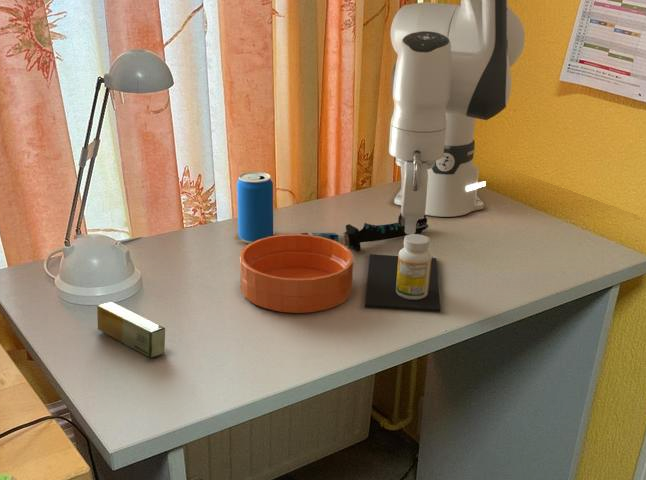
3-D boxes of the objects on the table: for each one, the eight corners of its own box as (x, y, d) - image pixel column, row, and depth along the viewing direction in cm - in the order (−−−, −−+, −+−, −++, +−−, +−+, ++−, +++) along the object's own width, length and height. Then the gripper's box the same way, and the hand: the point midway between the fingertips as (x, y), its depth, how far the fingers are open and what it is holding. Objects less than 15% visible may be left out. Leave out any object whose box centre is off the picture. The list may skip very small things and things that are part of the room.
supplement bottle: (415, 303, 127) (421, 248, 122) (388, 293, 130) (392, 238, 125) (434, 293, 131) (440, 238, 126) (407, 283, 133) (412, 229, 128)
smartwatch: (417, 229, 137) (420, 201, 134) (426, 241, 132) (429, 212, 130) (394, 230, 136) (396, 202, 133) (403, 242, 131) (405, 213, 129)
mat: (369, 257, 143) (369, 254, 143) (436, 261, 143) (436, 258, 143) (364, 307, 126) (365, 304, 126) (440, 312, 126) (440, 309, 126)
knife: (300, 258, 138) (303, 234, 136) (292, 252, 140) (294, 228, 138) (434, 243, 155) (438, 222, 153) (424, 238, 157) (429, 216, 155)
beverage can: (279, 241, 148) (279, 179, 142) (248, 248, 145) (247, 184, 138) (262, 230, 152) (261, 168, 146) (232, 236, 149) (230, 174, 143)
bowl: (251, 263, 139) (250, 231, 136) (354, 269, 139) (356, 237, 135) (231, 311, 124) (230, 276, 120) (348, 318, 123) (350, 283, 120)
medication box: (166, 353, 112) (167, 327, 110) (151, 359, 110) (151, 333, 108) (111, 324, 118) (110, 299, 116) (96, 329, 116) (95, 304, 114)
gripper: (439, 164, 117) (430, 250, 124) (434, 128, 135) (426, 206, 142) (396, 161, 118) (390, 248, 125) (397, 126, 135) (391, 203, 142)
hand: (409, 225), depth 133 cm, fingers closed on smartwatch, 5 cm apart
